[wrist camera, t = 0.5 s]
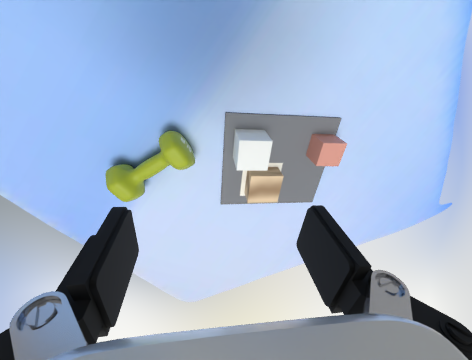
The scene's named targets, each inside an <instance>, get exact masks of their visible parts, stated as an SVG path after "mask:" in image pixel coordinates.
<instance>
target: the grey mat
mask: <svg viewBox="0 0 472 360" xmlns="http://www.w3.org/2000/svg"><path fill="white" fill-rule="evenodd" d="M340 121H341V118H336V117H314V116H292V115H270V114H249V113H227V112H226V113H225V132H224V151H223V170H222V188H221V204H254V203H247V200H246V196H245V193H244V192H245V184H246V176H247V171H242V170H236V166H235V163H234V159H233V147H234V135H235V129H253V130H265V131H266V133H267V134H268V135H269V137H270V138H271V140H272V141H273V143H272V148H271V154H270V159H269V164H268V167H278V168H279V170H280V171H281V173H282V174H283V176H284V177H283V181H282V185H281V189H280V194H279V198H278V202H269V203H296V202H312V201H313V198H314V195H315V193H316V190H317V187H318V184H319V181H320V178H321V175H322V173H323V170H324V167H325V166H316V165H315V164H314V163H313V162H312V161H311V160H310V159H309V158H308V157H307V156H306V153H307V150H308V146H309V143H310V139H311V136H312V134H334V135H336V133H337V130H338V127H339V124H340Z"/></svg>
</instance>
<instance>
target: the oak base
mask: <svg viewBox="0 0 472 360" xmlns="http://www.w3.org/2000/svg"><path fill="white" fill-rule="evenodd" d="M283 177H284V176H283V174H282V173H281V171H280V170H279V168H278V167H268V170H267V171H247V176H246V184H245V192H244V193H245V196H246V200H247V203H269V202H278V198H279V194H280V189H281V185H282V181H283Z"/></svg>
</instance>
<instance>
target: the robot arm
mask: <svg viewBox="0 0 472 360" xmlns="http://www.w3.org/2000/svg"><path fill="white" fill-rule="evenodd" d="M297 248H298V251H299V253H300V255H301V257H302V259H303V261H304V263H305V265H306V267H307V269H308V271H309V273H310V275H311V277H312V279H313V281H314V283H315V285H316V287H317V289H318V291H319V293H320V295H321V298H322V300H323V302H324V303H325V305H326V306H328V307H329V309H330V311H331V313H340V312H343V313H344V315H339V316H327V317H317V318H308V319H297V320H286V321H277V322H266V323H257V324H248V325H238V326H228V327H218V328H209V329H201V330H191V331H181V332H173V333H164V334H155V335H147V336H139V337H131V338H123V339H116V340H110V341H106V342H99V343H96V341H97V339H98V337H103V336H107V335H108V332H109V329H110V327H114V326H115V324H116V321H117V318H118V315H119V312H120V309H121V306H122V303H123V300H124V297H125V293H126V290H127V287H128V284H129V281H130V278H131V275H132V272H133V269H134V266H135V263H136V260H137V257H138V252H139V248H138V243H137V238H136V233H135V227H134V222H133V217H132V212H131V210H127V208H126V207H113V208H112V209H111V210H110V212H109V214H108V215H107V217H106V219H105V220H104V222H103V224H102V225H101V227H100V229H99V230H98V232H97V234H96V235H92V236H90V238H89V239H88V240H87V242H86V243H85V245H84V247H83V248H82V250H81V251H80V253H79V255H78V256H77V258H76V259H75V261H74V263H73V264H72V266H71V267H70V269H69V271H68V272H67V274H66V275H65V277H64V279H63V281H62V282H61V284H60V285H59V287H58V289H57V290H56V291H55V292H48V293H43V294H41V295H39V296H37V297H35V298H33V299H31V300H30V301H28V302H27V303H26V304H25V305H23V306H22V307H21V308H20V309H19V310H18V311H17V312H16V314H15V315H14V316H13V318H12V320H11V322H10V328H9V329H7V330H5V331H4V332H2V333H1V334H0V360H472V333H471V332H470V331H469V330H468V329H467V328H466V327H465V326H463V325H462V324H461V323H459V322H457V321H456V320H454V319H453V318H451V317H449V316H447V315H445V314H443V313H441V312H439V311H438V310H436V309H434V308H432V307H430V306H428V305H426V304H424V303H423V302H420V301H419V300H417V299H415V298H413V297H411V296H410V294H409V291H408V289H407V287H406V285H405V284H404V283H403V282H402V281H401V280H400V279H399V278H397V277H396V276H395V275H393V274H391V273H389V272H386V271H383V270H376V271H374V272H373V271H372V270H371V265H370V264H369V263H368V261H367V260H366V259H365V258H364V256H363V255H362V254H361V252H360V251H359V250H358V249H357V247H356V246H355V245H354V244H353V242H352V241H351V240H350V239H349V237H348V236H347V235H346V234H345V232H344V231H343V230H342V229H341V227H340V226H339V225H338V224H337V222H336V221H335V220H334V219H333V217H332V216H331V215H330V214H329V212H328V211H327V210H326V209H325V207H324V206H311V207H310V208H309V209H308V210H307V213H306V216H305V219H304V222H303V225H302V228H301V231H300V234H299V237H298V240H297Z"/></svg>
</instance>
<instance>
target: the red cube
mask: <svg viewBox="0 0 472 360" xmlns="http://www.w3.org/2000/svg"><path fill="white" fill-rule="evenodd" d="M346 145H347V143H346V142H344V141H343V140H341V139H340V138H338V137H337V136H335V135H334V134H312V136H311V139H310V143H309V146H308V150H307V153H306V156H307V157H308V158H309V159H310V160H311V161H312V162H313V163H314V164H315V165H316V166H339V163H340V161H341V158H342V156H343V153H344V151H345V148H346Z"/></svg>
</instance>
